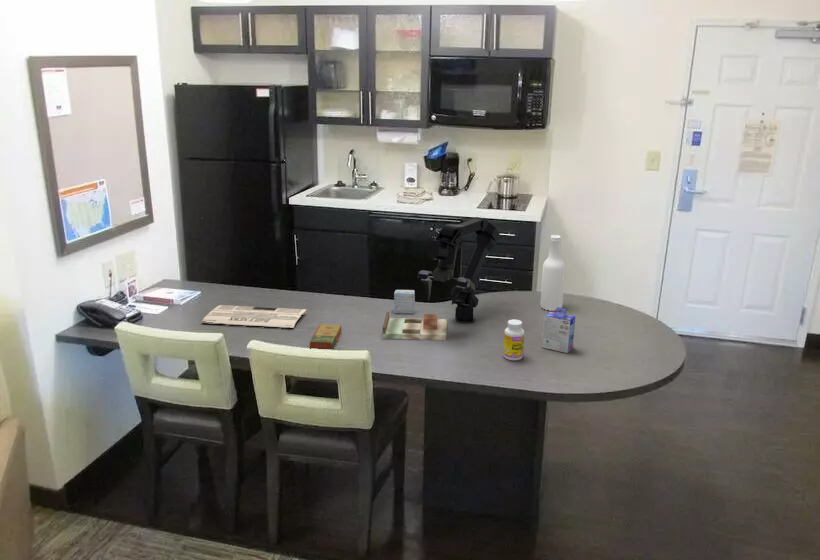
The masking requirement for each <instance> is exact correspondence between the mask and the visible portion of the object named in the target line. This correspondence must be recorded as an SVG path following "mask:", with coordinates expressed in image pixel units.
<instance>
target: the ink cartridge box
mask: <svg viewBox="0 0 820 560" xmlns="http://www.w3.org/2000/svg"><path fill="white" fill-rule="evenodd" d="M557 310H559V311H557ZM560 310H561V311H563V312H561V311H560ZM566 313H567V308H564V307H562V308H559V307H557V308H556V311H548V312H547V313H546V314H544V315H543V320H542V321H543V323H542V339H541V348H543V349H546V350H547V349H548V350H552V351H556V352H561V353H565V354H568V353H569V352H571V351H572V350H573V349H574V339H575V326H576V325H575V324H576V315H572V314H571V315H570V314H566Z"/></svg>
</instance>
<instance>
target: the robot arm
mask: <svg viewBox="0 0 820 560" xmlns="http://www.w3.org/2000/svg"><path fill="white" fill-rule="evenodd" d="M472 233H474V234H475V235H476V236H475V242H476V247H475V248H474V251H473V254H472V256H471V258H470V261H469V262H468V265H467V268H466V270H465V272H464V274H463V276H462V277H461V276H460V277H458V278H457V277H456V278H455V277H454V275H455V272H454V270H455V265H456V259H457V252H458V250H459V249H461V245H460V244H459V243H460V242H462V241H463V240H464V239H465V236H468V235H470V234H472ZM500 236H501V234H500V232H499V229H498V228H496V226H495V225H493V224H491V223H490V222H489V220H488V219H487V218H484V217H478V216H477V217H473V219H470V220H467V221H464V222H461V223H459V224H458V223H457V224H454V223H451V224H450V223H449V224H444V225H443V226H442V227H441V229H440V230H439V232H438V233H437V236H436V237H435V239H432V240H431V243H429V244H428V245H427V246H426V248H425V255H426V257H427V259H430V260H438V262H437V265H436V267H435V269H434V270H433V271H429V270H424V269H423V270H420V271H418V273H417V279H418V280H420V282H422V283H423V284H424V287H425V292H426V299H427V300H430V299H431V291H432V285H433V284H432V283H433V281H434V282H435V281H438V282H442V283H452V284H454V285H453V287H452V288H451V293H450V297H451V305H452V306H453V305H456V306H455V312H454V313H455V316H454V317H455V320H456V322H457V323H474V320H475V319H474V308H476V307H477V306H478V305H479V299H478V297H477V296H476V295H475V294H476V291H477V290H476V287H475V284H476V281H477V279H478V276H479V273H480V272H481V269H482V267H483V264H484V262H485V260H486V257H487V255H488V253H489V251H490V250H492V249H493V248H494V247H495V246H496V245H497V243H498V241H499V239H500Z"/></svg>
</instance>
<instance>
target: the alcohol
mask: <svg viewBox="0 0 820 560" xmlns="http://www.w3.org/2000/svg"><path fill="white" fill-rule="evenodd" d="M561 238H562V236H561V235H560V234H552V235H550V242H549V250H548V256H547V258H546V259H545V260H544V262H543V265H542V270H541V271H542V272H541V273H542V274H541V287H540V288H541V291H540V307H541V309H542V308H543V310H544V309H545V310H544V311H547V310H549V311H548V312H555V311H556V308H557V307H559V308H564V306H563V305H564V289H565V277H566V275H565V274H566V264H565V262H564V261H563V259H562V257H561V256H562V255H561V251H562V250H561V248H562V247H561V241H562V239H561Z"/></svg>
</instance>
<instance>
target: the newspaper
mask: <svg viewBox="0 0 820 560" xmlns="http://www.w3.org/2000/svg"><path fill="white" fill-rule="evenodd" d="M307 312H308V313H309V310H308V309H305V308H304V309H302V308H283V307H281V308H280V307H266V306H265V307H264V306H248V305H247V306H244V305H227V304H226V305H225V304H219V305H218V306H216V307H214V308H213V309H212V310H211V311H209V313H207V314H206V315H205V316H204V317H203V319H202V321H206V322H213V323H223V324H234V325H249V326H269V327H290V328H294V329H295V325H296V323H297V321H298V320H299V319H300V318H301V317H302V316H301V315H302V314H303V313H306V314H308V313H307Z"/></svg>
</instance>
